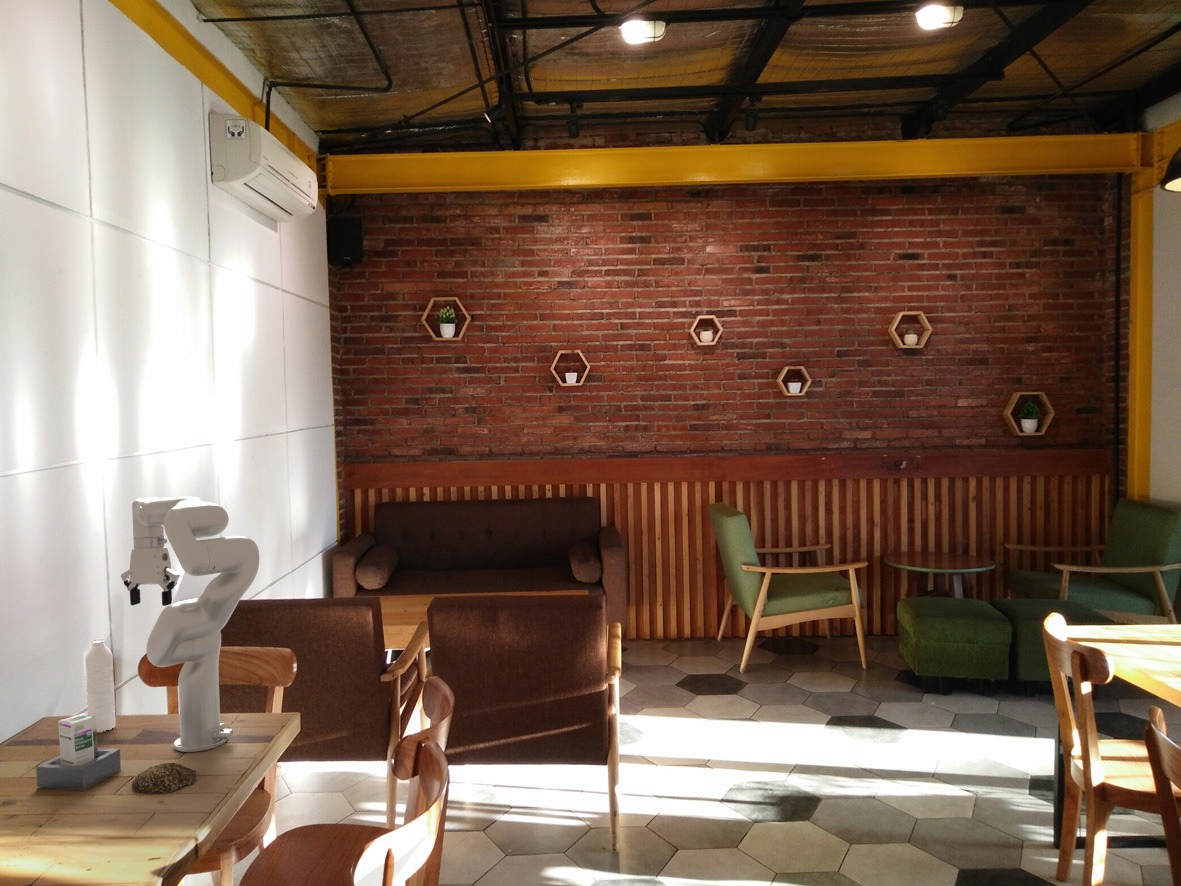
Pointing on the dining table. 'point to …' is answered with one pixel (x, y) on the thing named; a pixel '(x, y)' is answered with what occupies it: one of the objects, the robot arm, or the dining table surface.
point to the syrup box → (78, 740)
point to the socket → (78, 771)
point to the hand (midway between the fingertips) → (151, 604)
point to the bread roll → (164, 778)
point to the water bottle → (100, 685)
